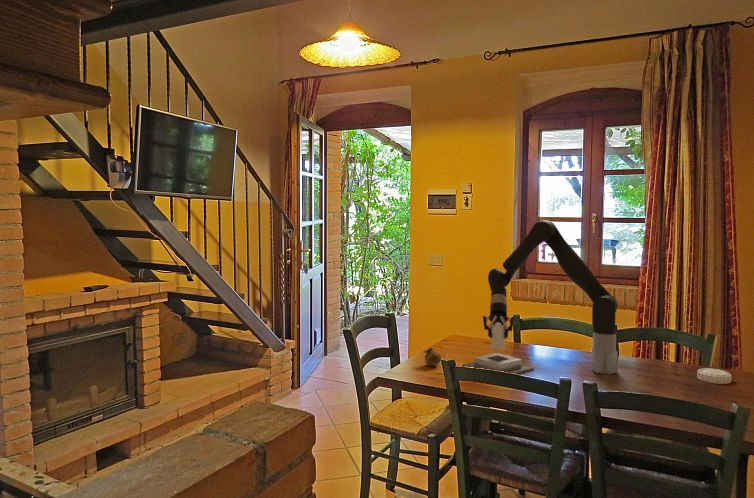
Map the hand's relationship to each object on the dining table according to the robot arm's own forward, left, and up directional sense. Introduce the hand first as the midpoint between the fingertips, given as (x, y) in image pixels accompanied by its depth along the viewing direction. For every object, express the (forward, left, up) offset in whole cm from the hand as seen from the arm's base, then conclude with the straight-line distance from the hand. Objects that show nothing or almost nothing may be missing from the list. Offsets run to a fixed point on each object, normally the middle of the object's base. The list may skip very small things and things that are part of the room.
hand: (498, 337), depth 237 cm
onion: (+21, +20, -15) cm, 32 cm away
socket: (+1, -1, -14) cm, 14 cm away
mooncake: (-62, -62, -15) cm, 89 cm away
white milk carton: (+1, -1, -6) cm, 6 cm away
